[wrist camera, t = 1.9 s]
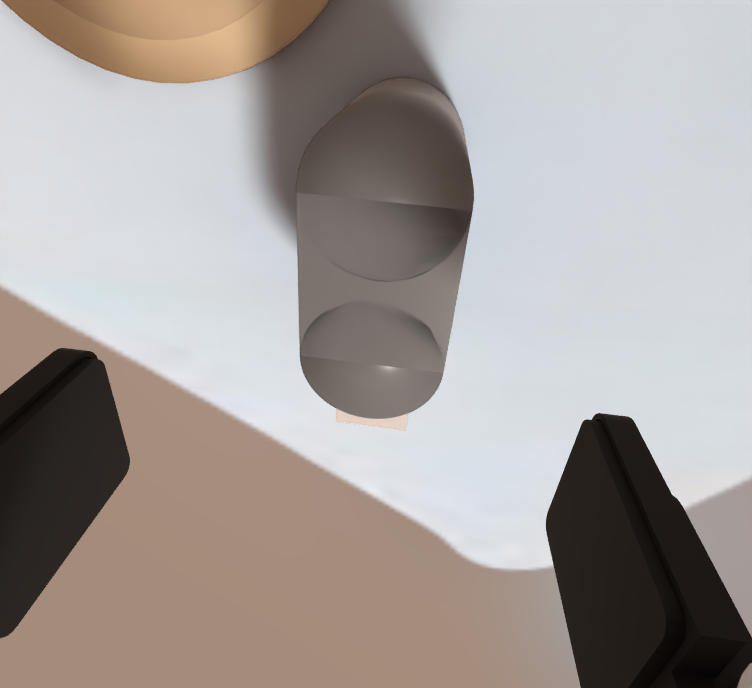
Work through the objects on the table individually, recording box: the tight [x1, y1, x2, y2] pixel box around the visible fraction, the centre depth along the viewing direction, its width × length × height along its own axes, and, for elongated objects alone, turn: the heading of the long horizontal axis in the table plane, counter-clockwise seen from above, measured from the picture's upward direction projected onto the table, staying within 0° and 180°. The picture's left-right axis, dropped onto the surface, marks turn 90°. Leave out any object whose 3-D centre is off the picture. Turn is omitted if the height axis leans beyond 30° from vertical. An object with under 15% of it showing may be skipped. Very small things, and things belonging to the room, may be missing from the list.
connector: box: [296, 78, 474, 431], centre depth 17 cm, size 12×4×6 cm, turn 176°
